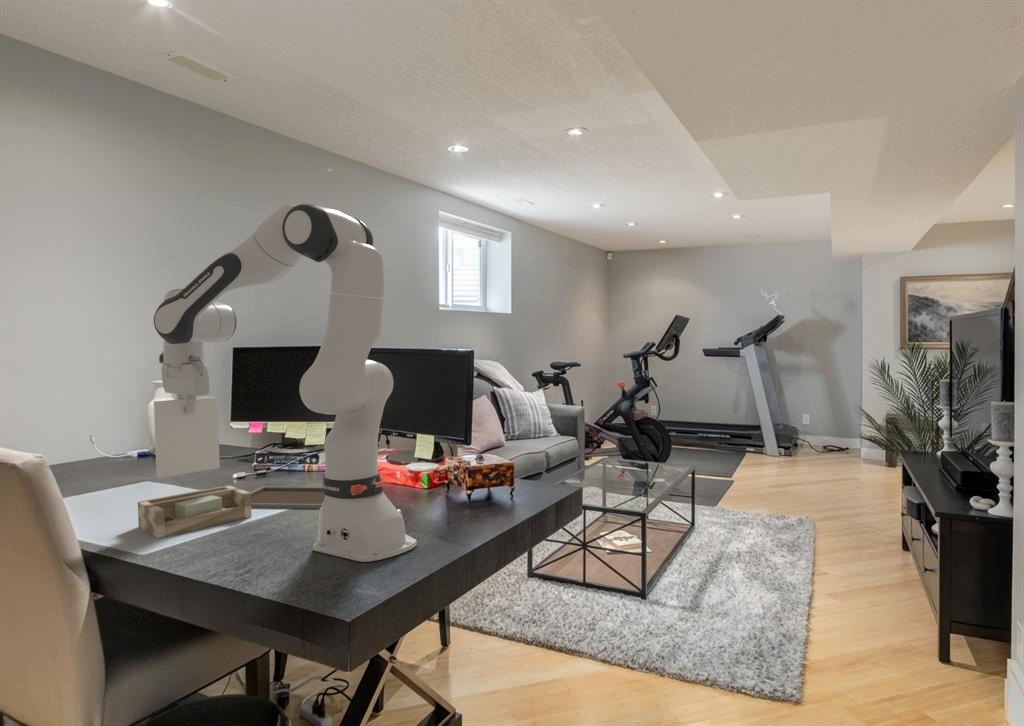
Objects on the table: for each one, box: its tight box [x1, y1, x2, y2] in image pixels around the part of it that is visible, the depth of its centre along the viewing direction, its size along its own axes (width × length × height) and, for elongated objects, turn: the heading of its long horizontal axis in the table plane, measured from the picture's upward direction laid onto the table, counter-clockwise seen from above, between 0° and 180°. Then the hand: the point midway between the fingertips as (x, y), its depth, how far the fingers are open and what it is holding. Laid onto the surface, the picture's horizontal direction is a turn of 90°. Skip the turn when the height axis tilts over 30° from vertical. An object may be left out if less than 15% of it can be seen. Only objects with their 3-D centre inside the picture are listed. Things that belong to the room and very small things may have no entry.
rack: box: [137, 484, 252, 539], centre depth 148 cm, size 13×21×6 cm, turn 138°
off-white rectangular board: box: [153, 396, 221, 479], centre depth 150 cm, size 2×14×18 cm, turn 138°
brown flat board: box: [249, 485, 325, 510], centre depth 169 cm, size 19×2×30 cm
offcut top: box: [175, 495, 222, 518], centre depth 147 cm, size 4×9×3 cm, turn 146°
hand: (187, 412), depth 150 cm, fingers closed on off-white rectangular board, 2 cm apart
